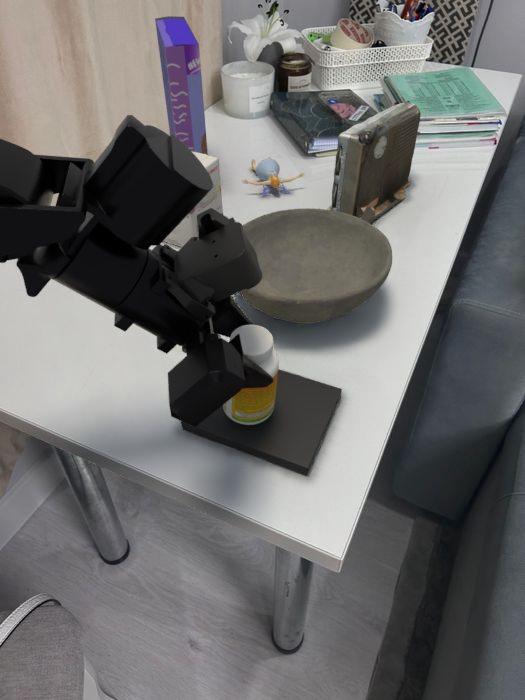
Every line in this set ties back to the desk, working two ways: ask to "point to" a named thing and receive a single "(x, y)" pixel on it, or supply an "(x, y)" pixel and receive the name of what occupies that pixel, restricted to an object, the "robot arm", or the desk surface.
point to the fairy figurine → (269, 175)
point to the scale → (280, 424)
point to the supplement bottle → (255, 401)
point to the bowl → (315, 263)
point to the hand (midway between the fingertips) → (264, 361)
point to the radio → (375, 162)
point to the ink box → (209, 201)
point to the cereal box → (182, 82)
